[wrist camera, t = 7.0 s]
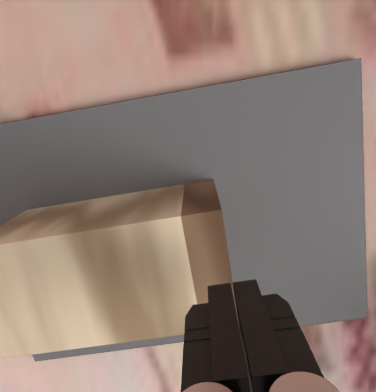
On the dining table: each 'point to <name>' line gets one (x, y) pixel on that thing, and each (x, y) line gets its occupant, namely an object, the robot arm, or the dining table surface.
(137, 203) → the birch block
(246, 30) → the dining table surface
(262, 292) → the mat
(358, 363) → the dining table surface
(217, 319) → the robot arm
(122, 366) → the dining table surface
